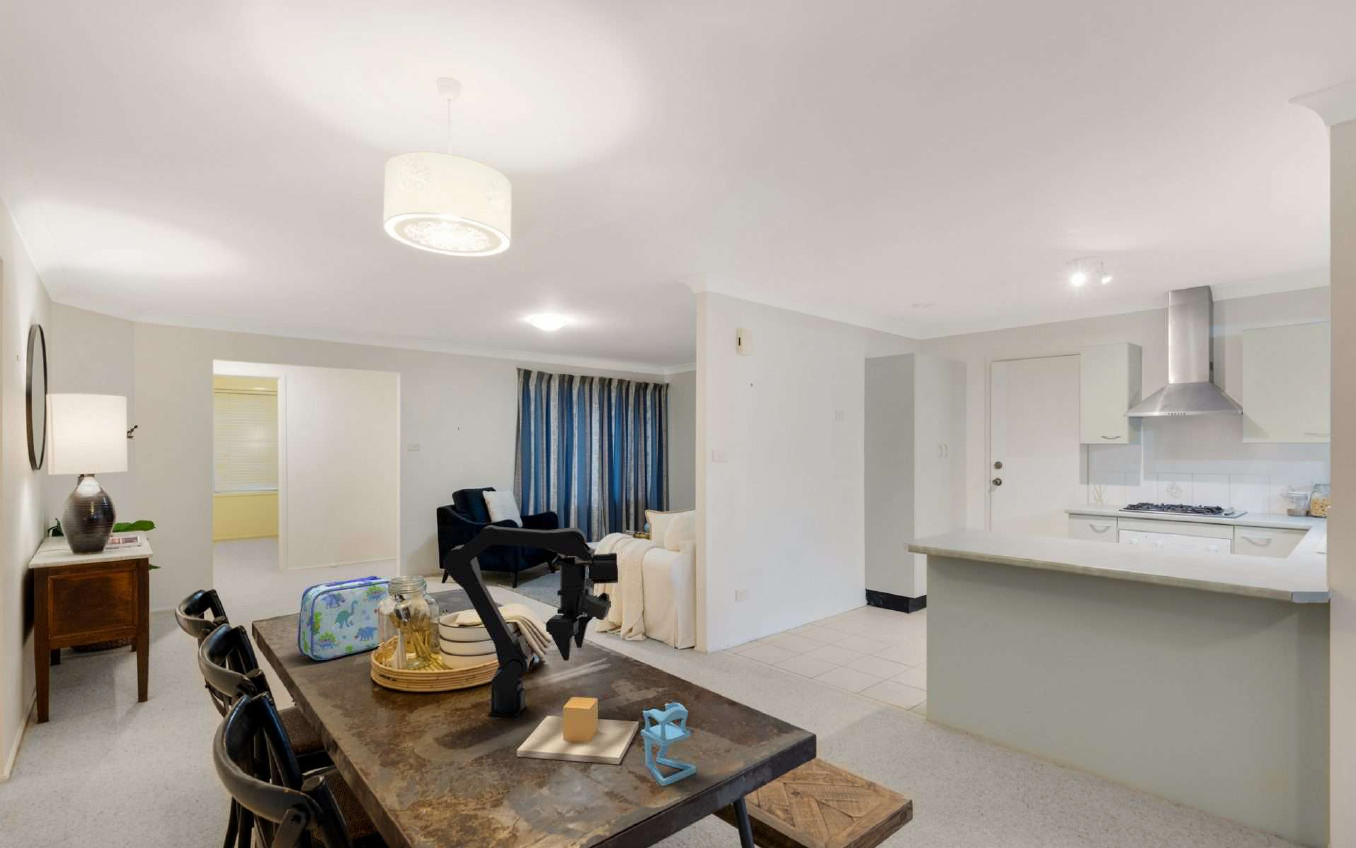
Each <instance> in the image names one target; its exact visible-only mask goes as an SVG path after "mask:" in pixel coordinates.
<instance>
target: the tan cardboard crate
mask: <svg viewBox="0 0 1356 848" xmlns="http://www.w3.org/2000/svg"><path fill="white" fill-rule="evenodd" d="M598 701H599V699H598V698H596V697H582V696H581V697H580V696H572V697H571V698H570V699H569V700H568V701H567V702H566V704H564V706H563V709H562V711H563V712H562V713H563V714H562V717H563V740H566V741H580V742H590V741H591V740H592V738H593V737H594V735H595V734H596V732H597V731H598V719H599V717H598V716H599V711H598V710H599V702H598Z"/></svg>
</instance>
